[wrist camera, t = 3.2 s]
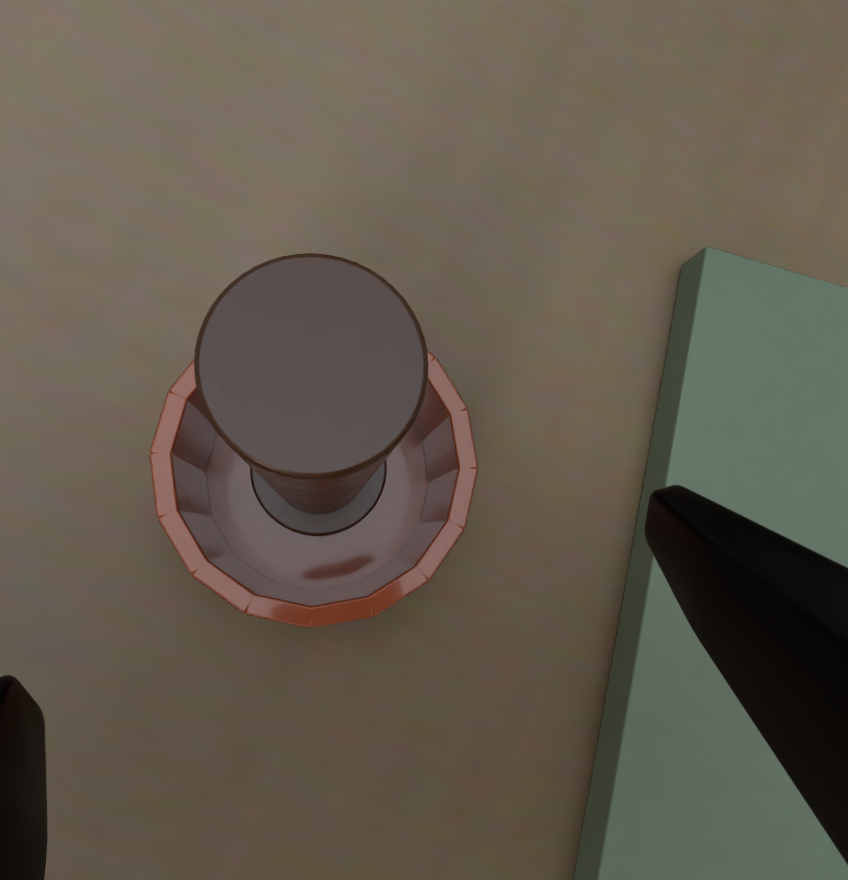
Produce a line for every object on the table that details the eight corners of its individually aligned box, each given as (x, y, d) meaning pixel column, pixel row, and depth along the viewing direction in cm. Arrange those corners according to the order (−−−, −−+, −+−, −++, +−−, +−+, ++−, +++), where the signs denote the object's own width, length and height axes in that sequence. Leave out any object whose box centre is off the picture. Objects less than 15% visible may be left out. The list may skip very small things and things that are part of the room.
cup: (409, 627, 20) (437, 656, 15) (164, 572, 19) (109, 584, 14) (461, 395, 21) (504, 351, 16) (232, 335, 20) (203, 269, 15)
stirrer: (362, 547, 19) (440, 569, 6) (247, 521, 19) (89, 487, 6) (389, 436, 20) (509, 252, 7) (278, 408, 19) (191, 160, 7)
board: (972, 1081, 20) (1023, 1124, 19) (549, 1011, 19) (568, 1051, 17) (1032, 366, 24) (1079, 355, 22) (681, 264, 22) (706, 245, 21)
